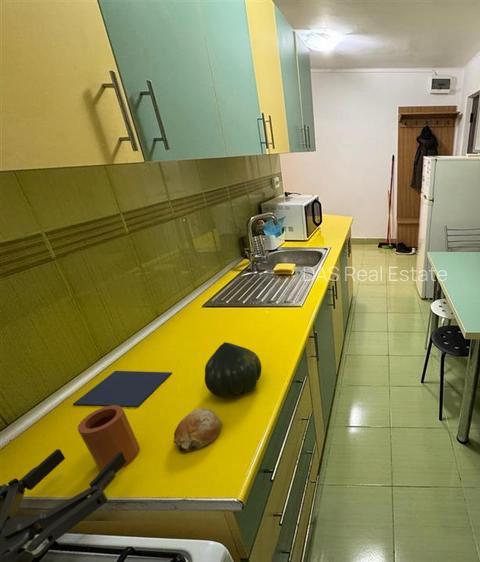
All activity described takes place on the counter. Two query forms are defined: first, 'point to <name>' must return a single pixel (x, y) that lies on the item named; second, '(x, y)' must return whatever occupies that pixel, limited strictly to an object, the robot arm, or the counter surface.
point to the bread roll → (197, 430)
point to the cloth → (124, 389)
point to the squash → (232, 370)
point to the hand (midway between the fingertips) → (91, 455)
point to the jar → (108, 435)
